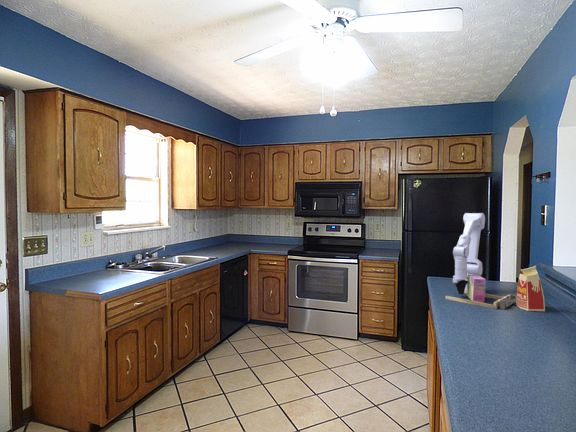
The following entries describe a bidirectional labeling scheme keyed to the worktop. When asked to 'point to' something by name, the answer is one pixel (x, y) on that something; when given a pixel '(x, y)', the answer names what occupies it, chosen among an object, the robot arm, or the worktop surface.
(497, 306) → the bay
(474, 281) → the box
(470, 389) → the worktop surface
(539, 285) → the milk carton
